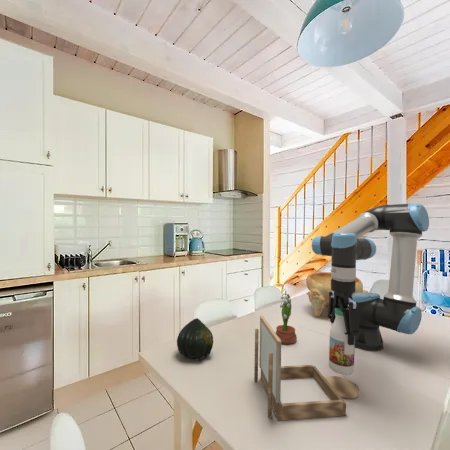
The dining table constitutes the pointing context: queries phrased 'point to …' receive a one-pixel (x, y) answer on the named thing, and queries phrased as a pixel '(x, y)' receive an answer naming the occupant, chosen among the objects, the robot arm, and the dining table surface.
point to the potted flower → (285, 331)
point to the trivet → (344, 387)
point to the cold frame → (307, 409)
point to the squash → (195, 340)
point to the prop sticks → (270, 373)
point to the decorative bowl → (324, 290)
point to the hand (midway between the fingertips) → (341, 347)
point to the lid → (268, 345)
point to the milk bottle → (339, 347)
